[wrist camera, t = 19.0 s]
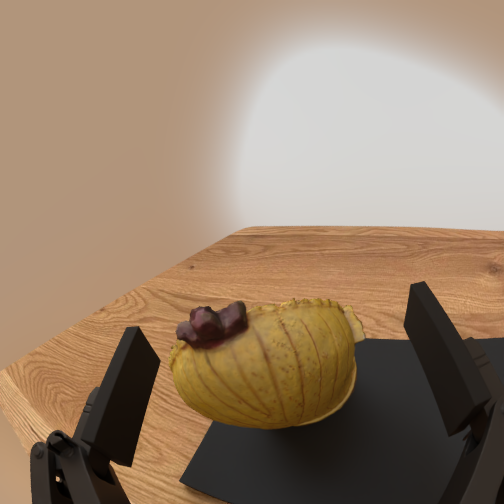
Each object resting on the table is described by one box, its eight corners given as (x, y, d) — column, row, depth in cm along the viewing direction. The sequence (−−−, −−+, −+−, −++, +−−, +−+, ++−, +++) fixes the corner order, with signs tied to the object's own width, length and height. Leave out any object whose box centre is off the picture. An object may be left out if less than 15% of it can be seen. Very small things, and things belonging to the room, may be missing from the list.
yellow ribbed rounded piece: (351, 486, 12) (409, 334, 4) (225, 477, 14) (77, 325, 7) (354, 351, 21) (350, 165, 14) (259, 353, 23) (208, 184, 16)
